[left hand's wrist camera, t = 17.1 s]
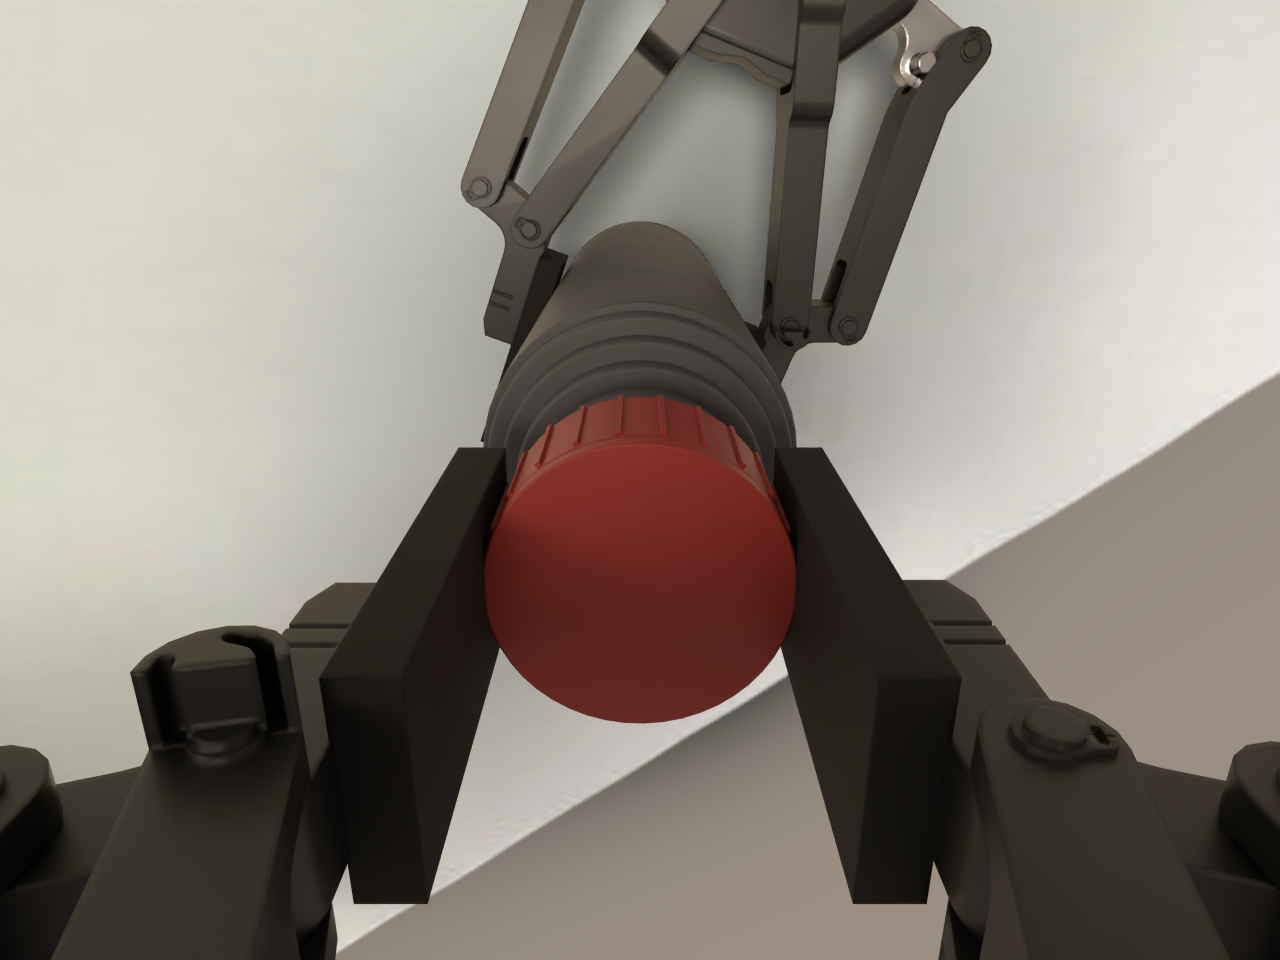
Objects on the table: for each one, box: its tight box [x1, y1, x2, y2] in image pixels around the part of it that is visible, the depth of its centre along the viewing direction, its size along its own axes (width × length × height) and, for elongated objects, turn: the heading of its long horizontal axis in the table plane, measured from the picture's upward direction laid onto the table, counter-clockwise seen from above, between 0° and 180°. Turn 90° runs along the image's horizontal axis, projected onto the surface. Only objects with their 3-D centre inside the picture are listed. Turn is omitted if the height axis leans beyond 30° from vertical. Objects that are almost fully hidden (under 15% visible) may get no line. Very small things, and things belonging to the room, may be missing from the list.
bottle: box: [483, 222, 797, 484], centre depth 24 cm, size 6×6×24 cm
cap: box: [484, 395, 797, 723], centre depth 13 cm, size 4×5×2 cm
